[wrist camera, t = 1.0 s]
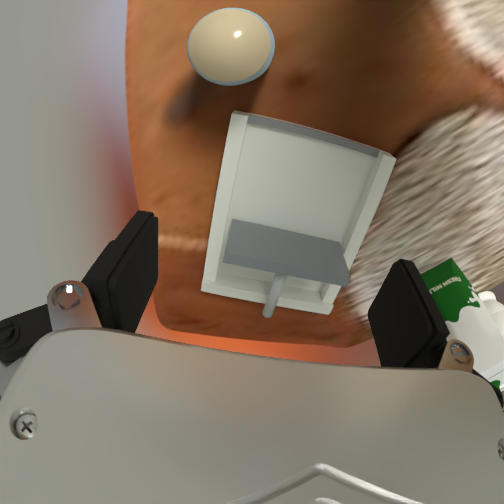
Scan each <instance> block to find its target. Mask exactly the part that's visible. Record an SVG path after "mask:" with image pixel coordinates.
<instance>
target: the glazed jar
mask: <svg viewBox="0 0 504 504" xmlns="http://www.w3.org/2000/svg"><path fill="white" fill-rule="evenodd" d="M274 50H275V41H274V36H273V33H272V31H271V28H270V27H269V25H268V24H267V23H266V22H265V20H263V19H262V18H261V17H260V16H258V15H257V14H255V13H253V12H251V11H249V10H246V9H241V8H224V9H220V10H216V11H214V12H211V13H210V14H208V15H206V16H205V17H203V18H202V19H201V20H200V21H199V22H198V23H197V24H196V25H195V27H194V28H193V30H192V31H191V34H190V36H189V39H188V45H187V51H188V57H189V60H190V62H191V64H192V66H193V68H194V69H195V70H196V71H197V73H198V74H199V75H201V76H202V77H203V78H205V79H206V80H208V81H210V82H213V83H216V84H220V85H227V86H230V85H240V84H244V83H246V82H249V81H252V80H254V79H256V78H258V77H260V76H261V75H262V74H263V73H265V71H266V70H267V69H268V68H269V66H270V64H271V62H272V59H273V55H274Z"/></svg>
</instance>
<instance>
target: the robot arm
mask: <svg viewBox="0 0 504 504" xmlns="http://www.w3.org/2000/svg"><path fill="white" fill-rule="evenodd" d="M157 279H158V218H157V217H154V214H153V212H146V211H140V210H138V211H137V212H136V214H135V215H134V216H133V218H132V219H131V220H130V221H129V223H128V224H127V225H126V226H125V228H124V229H123V230H122V232H121V233H120V234H119V236H118V237H117V238H116V239H115V240H112V241H111V242H110V243H109V244H108V245H107V246H106V248H105V249H104V250H103V252H102V253H101V254H100V256H99V257H98V258H97V260H96V261H95V263H94V264H93V265H92V267H91V268H90V270H89V271H88V272H87V274H86V275H85V277H84V278H83V280H82V281H81V282H79V281H73V280H69V281H64V282H61V283H59V284H57V285H56V286H54V287H53V288H52V289H51V290H50V292H49V294H48V296H47V304H45V305H42V306H40V307H37V308H34V309H31V310H28V311H26V312H23V313H20V314H17V315H15V316H12V317H9V318H6V319H4V320H2V321H0V504H504V410H503V404H504V402H503V397H502V393H501V391H500V390H499V389H498V388H496V387H495V386H494V385H493V384H492V383H490V382H489V381H488V380H487V379H486V378H484V377H483V376H482V375H481V374H479V373H478V372H477V371H476V370H474V369H473V365H474V357H473V354H472V352H471V350H470V349H469V347H468V346H467V345H466V344H465V343H464V342H462V341H460V340H457V339H451V340H449V341H448V342H447V339H446V338H447V337H448V335H449V334H450V332H449V329H448V327H447V325H446V323H445V321H444V319H443V317H442V315H441V313H440V311H439V309H438V307H437V305H436V303H435V301H434V299H433V297H432V295H431V293H430V291H429V289H428V288H427V286H426V284H425V282H424V280H423V278H422V277H421V275H420V273H419V271H418V269H417V268H416V266H415V264H414V263H413V262H412V261H408V260H404V259H399V260H398V261H397V262H394V264H393V265H392V267H391V269H390V271H389V273H388V275H387V277H386V279H385V281H384V283H383V284H382V286H381V288H380V290H379V292H378V294H377V296H376V297H375V299H374V301H373V303H372V305H371V306H370V308H369V311H368V319H369V322H370V326H371V329H372V333H373V336H374V340H375V344H376V347H377V351H378V355H379V358H380V362H381V367H374V366H357V365H341V364H329V363H318V362H307V361H298V360H289V359H281V358H273V357H265V356H258V355H250V354H244V353H237V352H230V351H225V350H219V349H213V348H207V347H201V346H197V345H191V344H186V343H181V342H176V341H170V340H165V339H161V338H156V337H151V336H146V335H141V334H136V333H135V331H136V329H137V326H138V324H139V321H140V319H141V317H142V314H143V312H144V310H145V307H146V305H147V303H148V301H149V298H150V296H151V294H152V292H153V289H154V287H155V285H156V283H157Z"/></svg>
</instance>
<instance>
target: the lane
mask: <svg viewBox="0 0 504 504" xmlns="http://www.w3.org/2000/svg"><path fill="white" fill-rule="evenodd" d="M395 162H396V158H395V157H393V156H392V155H391V154H390V153H388V152H386V151H383V150H380V149H377V148H374V147H372V146H369V145H366V144H363V143H360V142H357V141H354V140H351V139H348V138H344V137H341V136H338V135H335V134H331V133H328V132H325V131H321V130H318V129H314V128H310V127H307V126H303V125H299V124H295V123H291V122H287V121H283V120H279V119H275V118H271V117H266V116H262V115H257V114H252V113H247V112H242V111H237V110H234V111H233V112H232V114H231V119H230V124H229V129H228V134H227V139H226V144H225V150H224V155H223V160H222V166H221V171H220V177H219V182H218V188H217V193H216V199H215V205H214V211H213V217H212V223H211V229H210V235H209V242H208V248H207V255H206V261H205V268H204V275H203V280H202V286H201V291H203V292H208V293H213V294H218V295H222V296H227V297H232V298H237V299H243V300H248V301H253V302H258V303H264V304H266V301H267V298H268V295H269V292H270V289H271V286H272V283H273V280H274V277H275V274H276V273H272V272H267V271H262V270H257V269H252V268H248V267H243V266H238V265H233V264H228V263H223V258H224V253H225V248H226V244H227V240H228V235H229V231H230V227H231V222H232V219H236V220H241V221H246V222H250V223H255V224H260V225H264V226H269V227H274V228H278V229H283V230H287V231H292V232H296V233H301V234H305V235H310V236H314V237H319V238H323V239H327V240H332V241H336V242H339V243H340V246H341V249H342V252H343V255H344V258H345V261H346V264H347V267H348V270H350V268H351V266H352V263H353V261H354V259H355V257H356V255H357V253H358V251H359V248H360V246H361V244H362V242H363V240H364V237H365V235H366V233H367V231H368V228H369V226H370V224H371V222H372V219H373V217H374V215H375V212H376V210H377V207H378V205H379V203H380V200H381V198H382V195H383V193H384V190H385V188H386V185H387V183H388V180H389V178H390V175H391V172H392V170H393V167H394V164H395ZM340 288H341V286H339V285H334V284H329V283H323V282H318V281H313V280H308V279H303V278H298V277H293V276H288V275H287V277H286V279H285V282H284V285H283V288H282V290H281V293H280V296H279V299H278V301H277V304H276V306H280V307H286V308H291V309H297V310H303V311H309V312H315V313H321V314H327V315H329V314H330V312H331V310H332V308H333V302H334V300H335V298H336V296H337V294H338V292H339V290H340Z"/></svg>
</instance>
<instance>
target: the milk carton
mask: <svg viewBox="0 0 504 504" xmlns="http://www.w3.org/2000/svg"><path fill="white" fill-rule="evenodd" d="M421 277H422V278H423V280H424V282H425V284H426V286H427V288H428V289H429V291H430V293H431V295H432V297H433V299H434V301H435V303H436V305H437V307H438V309H439V311H440V313H441V315H442V317H443V319H444V321H445V323H446V325H447V327H448V329H449V332H450V334H449V335H448V337H447V338H446V339H447V342H448V341H449V340H451V339H457V340H460V341H462V342H464V343H465V344H466V345H467V346H468V347H469V349H470V350H471V352H472V354H473V357H474V365H473V369H474V370H476V371H477V372H478V373H479V374H481V375H482V376H483V377H484V378H486V379H487V380H488V381H489V382H490V383H492V384H493V385H494V386H495V387H496V388H498V389H499V390H500V388H499V387H500V386H502V385H504V338H503V336H502V334H501V333H500V331H499V329H498V327H497V325H496V323H495V322H494V320H493V318H492V317H491V315H490V313H489V312H488V310H487V308H486V307H485V305H484V304H483V302H482V300H481V299H480V297H479V296H478V294H477V293H476V291H475V290H474V288H473V287H472V285H471V284H470V282H469V281H468V279H467V278H466V277H465V275H464V274H463V273H462V271H461V270H460V269H459V267H458V266H457V265H456V263H455V262H454V261H453V259H452V258H451V259H449V260H447V261H445V262H443V263H442V264H440V265H438V266H436V267H434V268H432V269H430V270H428V271H427V272H425V273H423V274H421ZM500 391H501V390H500ZM502 397H503V396H502Z"/></svg>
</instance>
